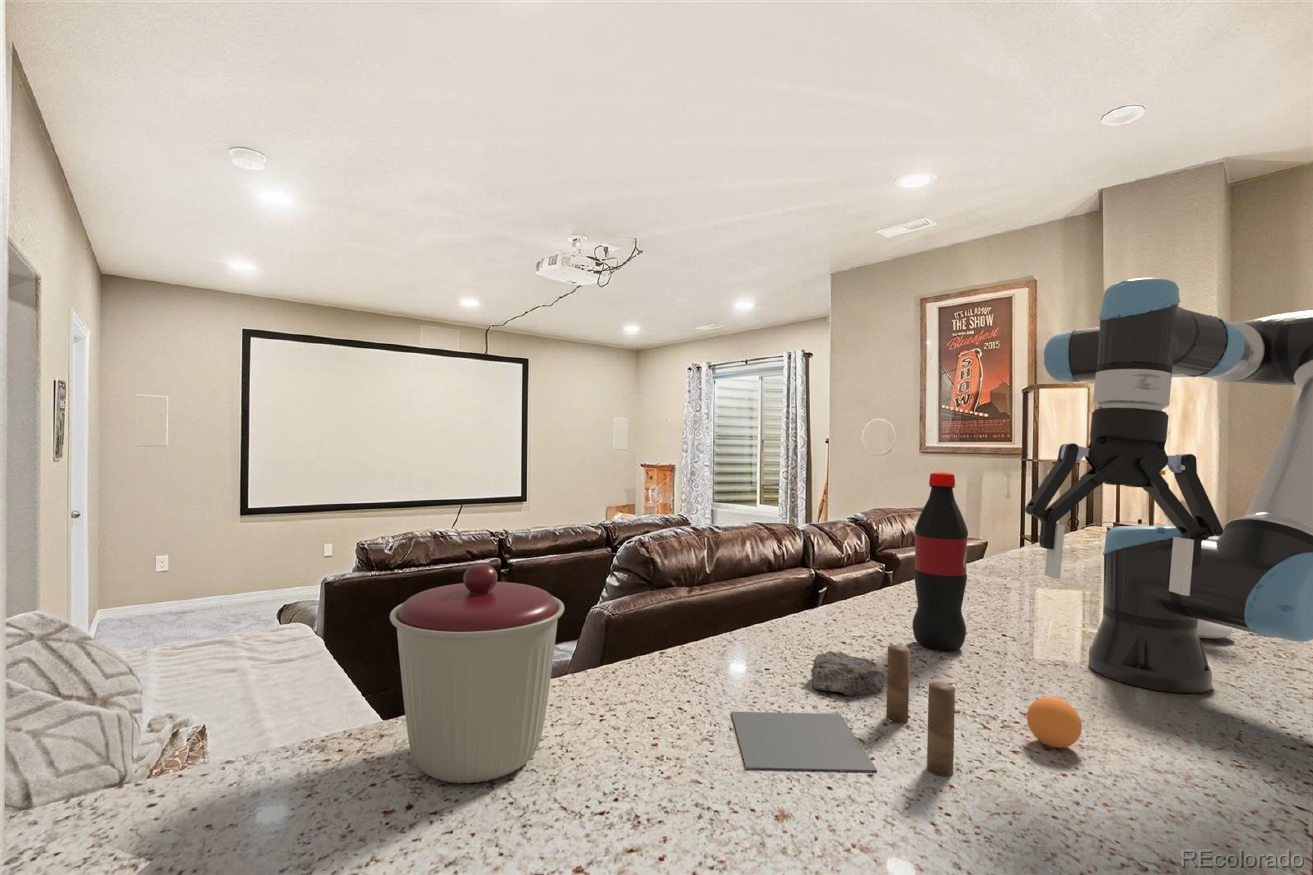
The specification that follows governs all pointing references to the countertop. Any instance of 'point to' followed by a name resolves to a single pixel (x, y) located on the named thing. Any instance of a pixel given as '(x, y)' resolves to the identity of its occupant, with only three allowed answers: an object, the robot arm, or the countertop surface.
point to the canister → (476, 674)
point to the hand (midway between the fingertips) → (1114, 585)
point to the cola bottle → (940, 568)
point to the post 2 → (940, 728)
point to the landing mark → (799, 742)
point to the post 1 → (898, 683)
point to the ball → (1054, 722)
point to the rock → (846, 674)
